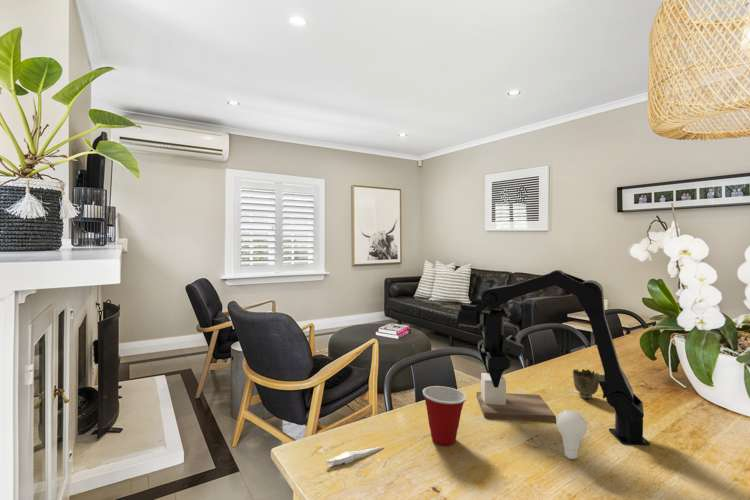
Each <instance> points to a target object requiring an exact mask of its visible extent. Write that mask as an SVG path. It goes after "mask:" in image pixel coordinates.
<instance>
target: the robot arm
mask: <svg viewBox="0 0 750 500" xmlns="http://www.w3.org/2000/svg"><path fill="white" fill-rule="evenodd" d="M555 286H556V287H558V288H559V289H562V290H564V291H566V292H567V293H568V294H571V295H573V296H575V297H577V299H578V302H579V304H580V305H581V308H582V309H583V311H584V313H585V314H586V317H588V320H589V324H590V327H591V330H592V334H593V338H594V341H595V344H596V348H597V351H598V356H599V358H600V362H601V365H602V369H603V373H604V374H599V375H600V378H599V387H600V388H601V391H602V399H606V402H607V404H608V405H610V406H611V407H612V408H614V412H615V415H614V418H615V419H614V424H615V425H614V428H608V431H609V432H610V433H611V434H612V436H614V437H615V438H616V439H617V440H618V441H619V443H622V444H629V445H645V446H646V445H649V446H650V443H651V442H650V441H649V440H647V439H646V438H645V437H644V416H645V412H644V405H643V404H644V403H643V401H642V400H641V399H640V398H639V397H638V396H637V395H636V394H635V393H634V390H633V387H632V385H631V383H630V381H629V378H628V377H627V376H626V374H625V372H624V371H623V369H622V366H621V365H620V361H619V358H618V354H617V350H616V347H615V343H614V341H613V337H612V333H611V330H610V327H609V323H608V320H607V318H606V310H605V308H606V307H605V297H604V288H603V286H602V284H601V283H599V282H598V281H596V280H592V279H587V280H584V279H582V278H580V277H577V276H574V275H572V274H569V273H566V272H564V271H562V270H560V269H556V270H553V271H551V272H549V273H545V274H543V275H539V276H536V277H534V278H533V277H532V278H530V279H527V280H524V281H520V282H518V283H515V284H510V285H500V286H494V287H490V288H487V289H485V290H484V291H483V292H482V294H481V299H480V301H479V302H478V303H477V304H476V305H474V304H473V305H472V304H468V303H461V304H460V309H459V310H458V314H457V324H458V325H459V326H463V327H469V328H470V327H471V328H477V329H478V328H479V327H480V326H481V325H482V326H483V327H482V328H483V330H481V335H482V337H483V338H482V339H480V340H479V341H478V342H477V350H478V353H479V355H480V358H481V361H482V363H483V366H484V368H485V370H486V373H489V374H490V377H491V380H492V383H493V386H494V387H498V386H499V382H500V379H501V376H503V373H504V372H505V371H506V370H509V369H510V368H511V367H512V360H511V359H510V357H509V356H508V355H507V352H508V353H511V354H513V355H516V356H517V357H521V356H522V353H523V351H524V348H525V346H524V345H523V344H522V343H520V342H519V341H517V337H515V336H514V335H512V334H509V336H506V334H505V333H504V318H507V317H510V316H511V314H512V313H511V312H510V311H509V310H508V309H507V308H506V307H505V306H504V307H503V308H501V309H498V307H500V306H502V305H504V304H506V303H508V302H509V301H511V300H513V299H515V298H519V297H522V296H525V295H529V294H532V293H535V292H538V291H542V290H545V289H548V288H551V287H555ZM486 309H490V310H486Z"/></svg>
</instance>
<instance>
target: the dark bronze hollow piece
mask: <svg viewBox="0 0 750 500" xmlns="http://www.w3.org/2000/svg"><path fill="white" fill-rule="evenodd" d="M600 375H601V374H600V373H598V372H596V373H595V371H591V370H590V369H586V370H585V369H584V368H582V369H581V371H580V370H579V369H578V368H576V369H575V368H574V370H572V377H573V385H574V388H575V390H576V391H578V392H579V394H578V395H579V397H580V398H581V399H584V400H591V399H593V395H595V394H596V393H597V392H598V389H599V386H600V384H599V378H600Z"/></svg>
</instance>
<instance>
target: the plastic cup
mask: <svg viewBox="0 0 750 500" xmlns="http://www.w3.org/2000/svg"><path fill="white" fill-rule="evenodd" d="M422 395H423V397H424V400H425V407H426V412H427V420H428V426H429V429H430V431H429V432H430V437H431V440H432V442H433V443H435V444H436V445H438V446H442V447H450V446H452V445H454V444H455V442H456V440H457V436H458V435H457V434H458V429H459V426H460V420H461V415H462V410H463V406H464V404H465V401H467V397H468V396H467V395H466V393H465V392H463V391H461V390H458V389H456V388H453V387H448V386H444V385H443V386H442V385H441V386H440V385H433V386H427V387H424V388H423V389H422Z"/></svg>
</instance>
